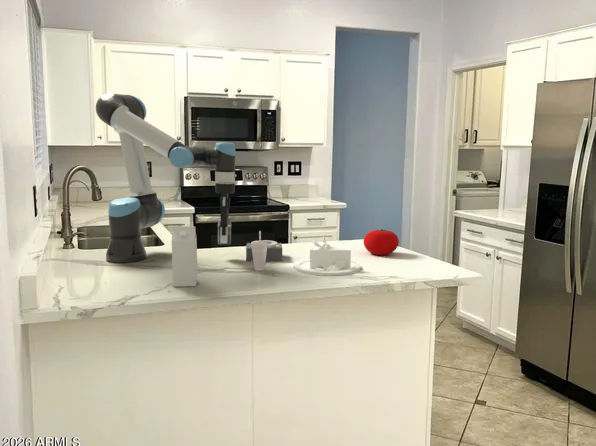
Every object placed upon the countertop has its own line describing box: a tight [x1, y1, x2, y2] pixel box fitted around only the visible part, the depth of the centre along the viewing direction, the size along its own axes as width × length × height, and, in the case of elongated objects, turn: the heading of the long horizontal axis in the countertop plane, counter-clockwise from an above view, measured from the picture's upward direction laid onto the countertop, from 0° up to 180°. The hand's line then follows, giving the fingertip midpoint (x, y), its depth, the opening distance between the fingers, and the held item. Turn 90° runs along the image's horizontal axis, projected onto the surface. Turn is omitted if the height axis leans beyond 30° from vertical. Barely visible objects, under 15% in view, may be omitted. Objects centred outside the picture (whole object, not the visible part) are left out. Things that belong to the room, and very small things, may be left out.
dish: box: [292, 235, 361, 277], centre depth 205 cm, size 25×25×11 cm
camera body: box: [245, 239, 283, 262], centre depth 221 cm, size 14×11×6 cm
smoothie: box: [251, 230, 268, 272], centre depth 201 cm, size 6×6×14 cm
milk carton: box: [171, 225, 198, 288], centre depth 180 cm, size 7×7×19 cm
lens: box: [217, 217, 232, 246], centre depth 218 cm, size 5×5×10 cm
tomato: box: [363, 229, 400, 256], centre depth 230 cm, size 14×13×10 cm
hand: (224, 241), depth 219 cm, fingers closed on lens, 5 cm apart
